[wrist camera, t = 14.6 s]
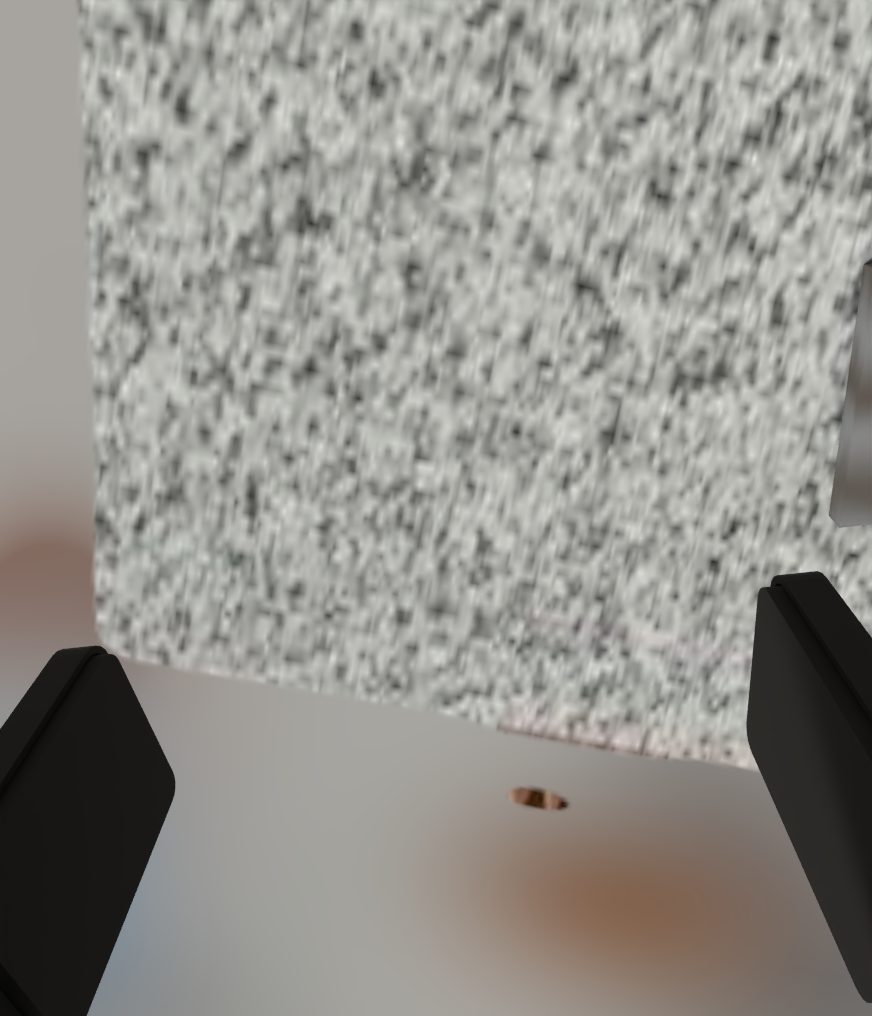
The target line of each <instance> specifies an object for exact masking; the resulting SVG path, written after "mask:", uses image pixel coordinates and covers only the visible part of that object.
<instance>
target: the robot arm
mask: <svg viewBox="0 0 872 1016" xmlns="http://www.w3.org/2000/svg"><path fill="white" fill-rule="evenodd" d="M747 737H748V742H749V745H750V749H751V751H752V754H753V756H754V758H755V761H756V763H757V765H758V767H759V770H760V772H761V774H762V776H763V779H764V781H765V783H766V785H767V788H768V790H769V792H770V795H771V797H772V799H773V801H774V803H775V806H776V808H777V810H778V813H779V815H780V817H781V819H782V822H783V824H784V826H785V828H786V831H787V833H788V835H789V837H790V840H791V842H792V844H793V847H794V849H795V851H796V853H797V855H798V858H799V860H800V862H801V864H802V867H803V869H804V871H805V874H806V876H807V878H808V880H809V883H810V885H811V887H812V889H813V892H814V894H815V896H816V898H817V901H818V903H819V905H820V908H821V910H822V912H823V914H824V916H825V919H826V921H827V923H828V926H829V928H830V930H831V932H832V935H833V937H834V939H835V941H836V944H837V946H838V948H839V951H840V953H841V955H842V957H843V960H844V961H845V964H846V966H847V969H848V971H849V973H850V975H851V978H852V979H853V982H854V984H855V986H856V988H857V990H858V992H859V994H860V995H861V997H862V998H863V999H864V1000H865V1001H866V1002H867V1003H872V638H871V636H870V635H869V634H868V632H867V631H866V630H865V628H864V627H863V626H862V624H861V623H860V622H859V620H858V619H857V618H856V616H855V615H854V614H853V612H852V611H851V610H850V608H849V607H848V606H847V604H846V603H845V602H844V600H843V599H842V598H841V596H840V595H839V594H838V592H837V591H836V590H835V588H834V587H833V586H832V584H831V583H830V582H829V580H828V579H827V578H826V577H825V576H824V575H823V574H822V573H821V572H818V571H815V572H806V573H796V574H786V575H777V576H775V577H774V578H773V579H772V581H771V586H770V587H764V588H761V589H760V590H759V593H758V601H757V612H756V623H755V635H754V646H753V657H752V668H751V679H750V691H749V702H748V713H747ZM174 793H175V777H174V774H173V771H172V769H171V767H170V765H169V763H168V761H167V759H166V757H165V755H164V753H163V751H162V748H161V746H160V745H159V742H158V740H157V738H156V736H155V734H154V732H153V730H152V728H151V726H150V724H149V722H148V719H147V717H146V715H145V714H144V711H143V709H142V707H141V705H140V703H139V701H138V699H137V697H136V695H135V693H134V691H133V689H132V687H131V684H130V682H129V680H128V678H127V676H126V674H125V672H124V670H123V668H122V666H121V664H120V662H119V660H118V658H117V657H116V656H115V655H113V654H108V653H107V651H106V650H105V649H104V648H102V647H101V646H89V647H79V648H70V649H62V650H59V651H57V652H56V653H55V654H54V655H53V656H52V657H51V659H50V660H49V661H48V663H47V664H46V666H45V667H44V669H43V670H42V671H41V673H40V674H39V676H38V677H37V678H36V680H35V681H34V683H33V684H32V686H31V687H30V688H29V690H28V691H27V692H26V694H25V695H24V697H23V698H22V699H21V701H20V702H19V704H18V705H17V706H16V708H15V709H14V711H13V712H12V713H11V715H10V716H9V718H8V719H7V721H6V722H5V723H4V725H3V726H2V728H1V729H0V1016H87V1013H88V1011H89V1008H90V1006H91V1003H92V1001H93V998H94V996H95V993H96V991H97V988H98V986H99V983H100V981H101V978H102V976H103V973H104V971H105V968H106V965H107V963H108V961H109V958H110V956H111V953H112V951H113V948H114V946H115V943H116V941H117V938H118V936H119V933H120V931H121V928H122V925H123V923H124V921H125V918H126V916H127V913H128V911H129V908H130V905H131V903H132V901H133V898H134V896H135V893H136V891H137V888H138V885H139V883H140V881H141V878H142V876H143V873H144V871H145V868H146V866H147V863H148V861H149V858H150V855H151V853H152V850H153V848H154V846H155V843H156V841H157V838H158V835H159V833H160V830H161V828H162V826H163V823H164V821H165V818H166V815H167V813H168V811H169V808H170V806H171V803H172V800H173V797H174Z"/></svg>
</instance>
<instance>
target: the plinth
mask: <svg viewBox="0 0 872 1016" xmlns="http://www.w3.org/2000/svg"><path fill="white" fill-rule="evenodd" d="M829 516H830V517H831V519H832V520H833V521H834V522H835V523H836V524H837V525H838V527H839V528H841V527H850V526H859V525H869V524H872V263H870V264H864V269H863V276H862V283H861V290H860V298H859V305H858V312H857V319H856V326H855V333H854V340H853V347H852V355H851V362H850V369H849V376H848V383H847V390H846V397H845V405H844V412H843V419H842V426H841V433H840V440H839V447H838V454H837V462H836V469H835V476H834V483H833V490H832V497H831V504H830V512H829Z"/></svg>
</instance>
